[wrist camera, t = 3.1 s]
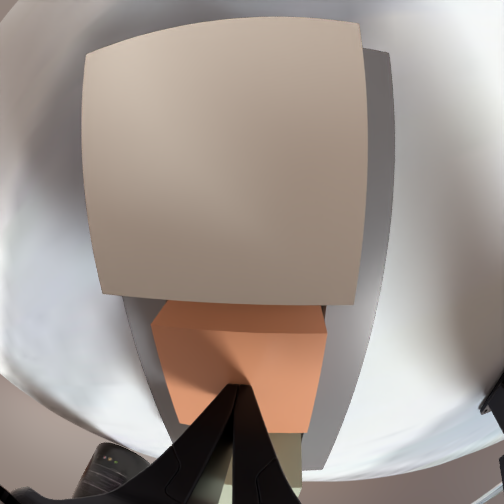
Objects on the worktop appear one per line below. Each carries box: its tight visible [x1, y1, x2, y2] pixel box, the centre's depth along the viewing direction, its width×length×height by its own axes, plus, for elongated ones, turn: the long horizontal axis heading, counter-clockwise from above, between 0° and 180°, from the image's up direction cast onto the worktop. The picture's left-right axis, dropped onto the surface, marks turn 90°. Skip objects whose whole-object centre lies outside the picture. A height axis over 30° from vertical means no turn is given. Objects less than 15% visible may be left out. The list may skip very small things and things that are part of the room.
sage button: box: [218, 433, 302, 504], centre depth 11 cm, size 5×5×4 cm
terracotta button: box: [151, 300, 327, 433], centre depth 11 cm, size 5×5×4 cm
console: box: [122, 48, 395, 471], centre depth 12 cm, size 10×23×2 cm, turn 1°
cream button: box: [81, 17, 368, 305], centre depth 6 cm, size 5×5×4 cm
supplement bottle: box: [72, 443, 150, 499], centre depth 16 cm, size 7×7×12 cm
